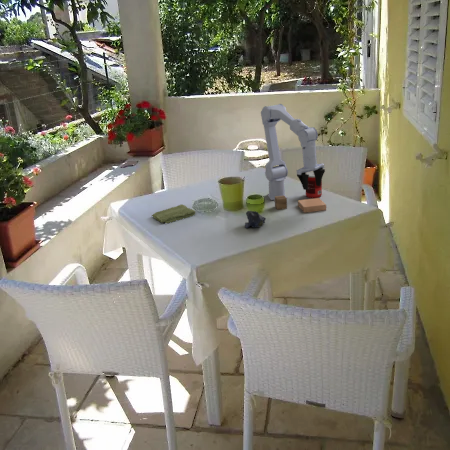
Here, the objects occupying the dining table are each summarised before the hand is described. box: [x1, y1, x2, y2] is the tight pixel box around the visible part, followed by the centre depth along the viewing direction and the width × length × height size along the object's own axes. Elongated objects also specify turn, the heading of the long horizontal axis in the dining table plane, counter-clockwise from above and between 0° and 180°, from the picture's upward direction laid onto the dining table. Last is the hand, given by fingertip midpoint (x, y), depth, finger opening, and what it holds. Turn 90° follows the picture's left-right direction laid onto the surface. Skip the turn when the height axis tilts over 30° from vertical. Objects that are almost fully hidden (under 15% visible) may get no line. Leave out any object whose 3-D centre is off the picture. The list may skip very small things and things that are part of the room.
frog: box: [244, 210, 267, 229], centre depth 202 cm, size 9×11×7 cm
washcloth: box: [151, 204, 196, 224], centre depth 222 cm, size 13×18×3 cm
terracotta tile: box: [297, 197, 327, 214], centre depth 219 cm, size 10×10×2 cm
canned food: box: [305, 171, 323, 199], centre depth 233 cm, size 8×8×11 cm
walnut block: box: [274, 195, 288, 211], centre depth 222 cm, size 4×4×5 cm
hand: (312, 187), depth 212 cm, fingers open, 7 cm apart
